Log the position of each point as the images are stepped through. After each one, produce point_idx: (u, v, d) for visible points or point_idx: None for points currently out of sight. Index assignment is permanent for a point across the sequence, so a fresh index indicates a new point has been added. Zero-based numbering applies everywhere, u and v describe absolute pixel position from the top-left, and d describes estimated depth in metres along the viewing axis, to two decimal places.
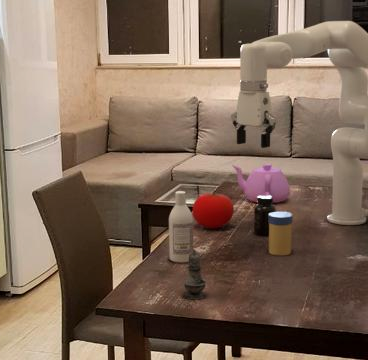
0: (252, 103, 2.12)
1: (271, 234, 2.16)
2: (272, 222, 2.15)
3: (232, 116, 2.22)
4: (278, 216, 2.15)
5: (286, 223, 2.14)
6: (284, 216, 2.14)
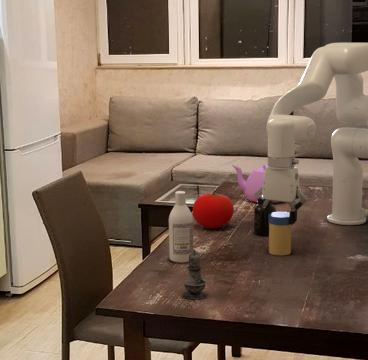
0: (284, 179, 2.11)
1: (271, 234, 2.16)
2: (272, 222, 2.15)
3: (256, 194, 2.19)
4: (278, 216, 2.15)
5: (286, 223, 2.14)
6: (284, 216, 2.14)
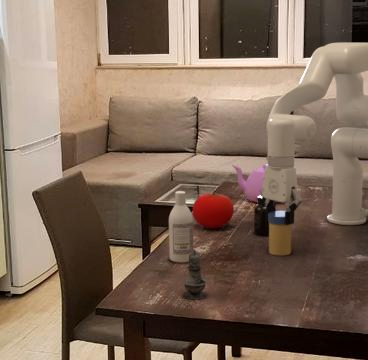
0: None
1: (271, 234, 2.16)
2: None
3: None
4: (284, 212, 2.18)
5: None
6: (279, 211, 2.19)
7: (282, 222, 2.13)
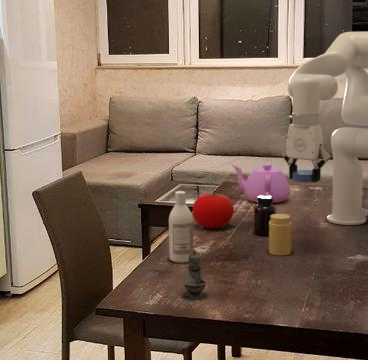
0: None
1: (271, 234, 2.16)
2: None
3: None
4: (307, 170, 2.21)
5: None
6: (301, 170, 2.21)
7: (309, 180, 2.16)
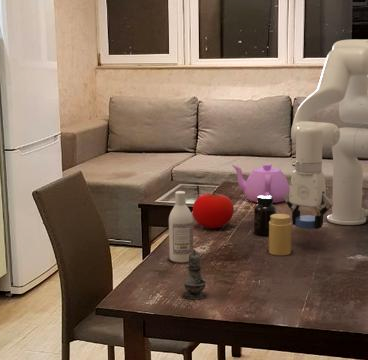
0: None
1: (271, 234, 2.16)
2: None
3: None
4: (310, 216, 2.24)
5: None
6: (304, 216, 2.25)
7: (312, 226, 2.19)
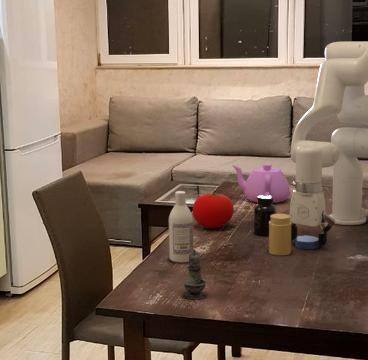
0: None
1: (271, 234, 2.16)
2: None
3: None
4: (309, 236, 2.25)
5: None
6: (304, 236, 2.26)
7: (312, 247, 2.21)
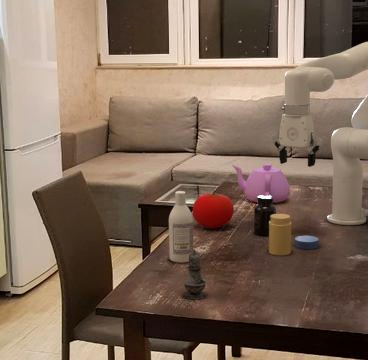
0: None
1: (271, 234, 2.16)
2: None
3: None
4: (309, 236, 2.25)
5: None
6: (304, 236, 2.26)
7: (312, 247, 2.21)
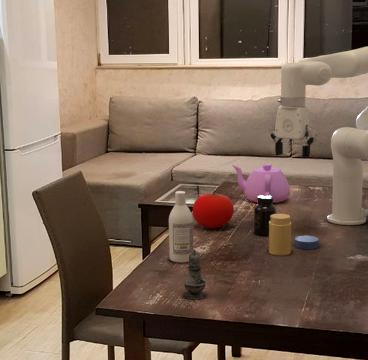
0: None
1: (271, 234, 2.16)
2: None
3: None
4: (309, 236, 2.25)
5: None
6: (304, 236, 2.26)
7: (312, 247, 2.21)
